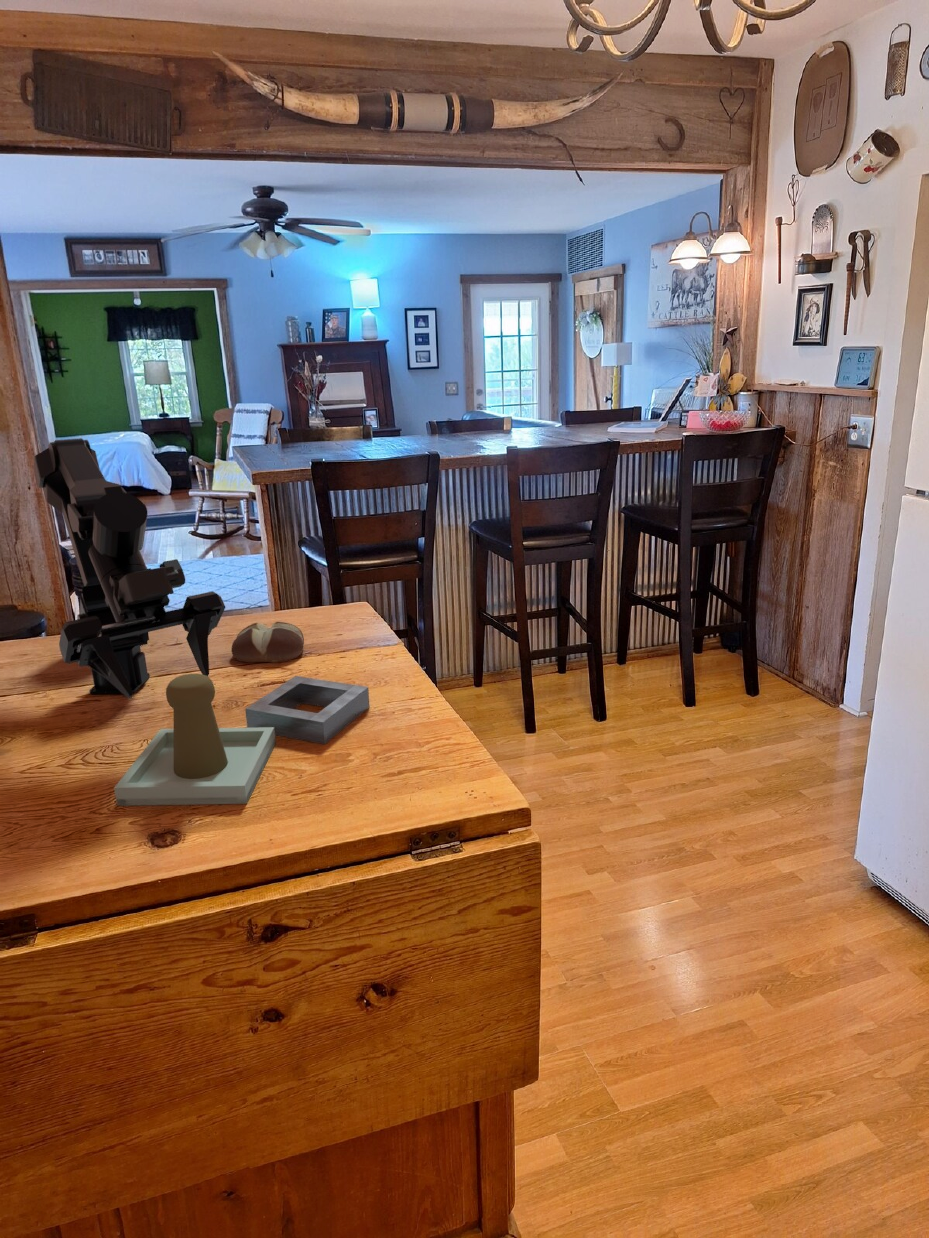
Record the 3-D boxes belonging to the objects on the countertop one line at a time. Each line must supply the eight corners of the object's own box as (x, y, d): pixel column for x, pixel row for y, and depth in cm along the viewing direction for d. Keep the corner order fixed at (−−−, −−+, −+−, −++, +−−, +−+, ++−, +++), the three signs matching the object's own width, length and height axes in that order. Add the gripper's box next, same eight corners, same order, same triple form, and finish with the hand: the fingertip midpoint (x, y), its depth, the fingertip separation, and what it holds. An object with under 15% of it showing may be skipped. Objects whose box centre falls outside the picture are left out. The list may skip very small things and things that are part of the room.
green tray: (117, 805, 87) (114, 787, 87) (163, 745, 101) (160, 728, 100) (246, 803, 87) (244, 785, 86) (275, 743, 100) (274, 727, 100)
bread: (297, 665, 126) (295, 635, 124) (225, 665, 126) (221, 635, 125) (313, 641, 136) (310, 612, 135) (246, 641, 137) (242, 613, 135)
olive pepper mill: (197, 749, 97) (185, 664, 94) (238, 758, 95) (228, 671, 92) (162, 773, 92) (147, 684, 89) (204, 783, 90) (191, 692, 86)
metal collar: (247, 729, 104) (245, 708, 103) (297, 695, 114) (295, 675, 113) (324, 744, 100) (323, 722, 99) (369, 707, 110) (368, 686, 109)
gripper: (47, 554, 89) (95, 676, 85) (210, 528, 100) (259, 635, 96) (42, 605, 97) (85, 719, 93) (192, 576, 109) (237, 677, 104)
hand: (170, 686), depth 96 cm, fingers open, 9 cm apart
